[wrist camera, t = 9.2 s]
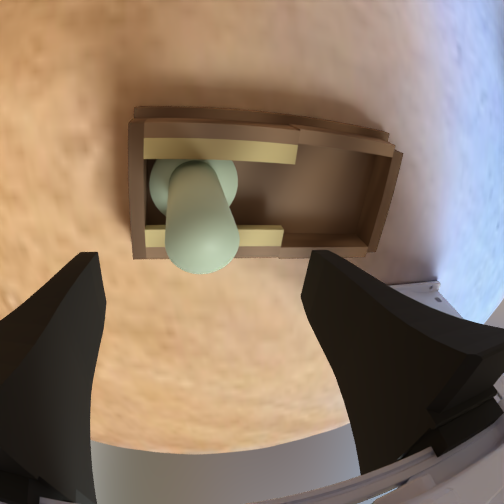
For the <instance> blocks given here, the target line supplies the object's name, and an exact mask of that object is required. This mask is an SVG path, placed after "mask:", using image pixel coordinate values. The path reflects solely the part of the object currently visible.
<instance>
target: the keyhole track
mask: <svg viewBox="0 0 504 504" xmlns="http://www.w3.org/2000/svg"><path fill="white" fill-rule="evenodd" d="M388 138H389V133H387V132H384V131H380V130H375V129H371V128H366V127H361V126H356V125H351V124H346V123H340V122H335V121H329V120H323V119H317V118H310V117H303V116H296V115H288V114H280V113H271V112H262V111H252V110H240V109H226V108H208V107H173V106H151V107H135V108H134V119H132V120H131V121H130V122H129V127H128V179H129V207H130V225H131V239H132V252H133V259H170V258H169V257H168V255H167V252H166V249H165V229H166V216H165V215H164V214H162V213H161V212H160V211H159V209H158V208H157V207H156V205H155V204H154V202H153V200H152V197H151V194H150V187H149V181H150V175H151V171H152V168H153V165H154V163H155V161H156V159H205V160H232V162H233V163H234V165H235V168H236V171H237V176H238V187H237V192H236V195H235V197H234V200H233V201H232V203H231V205H230V206H229V208H230V210H231V213H232V216H233V218H234V221H235V223H236V226H237V229H238V232H239V237H240V242H239V247H238V251H237V253H236V255H235V256H234V258H271V257H278V258H279V259H293V258H310V256H311V252H312V250H329V251H331V252H333V253H335V254H337V255H339V256H340V257H342V258H344V257H365V256H366V252H376V249H377V246H378V243H379V240H380V237H381V234H382V230H383V227H384V224H385V221H386V217H387V214H388V210H389V207H390V203H391V200H392V196H393V192H394V189H395V185H396V181H397V177H398V173H399V169H400V165H401V161H402V157H403V153H401V152H399V151H397V150H395V145H393V144H391V143H388Z"/></svg>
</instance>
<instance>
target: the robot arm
mask: <svg viewBox="0 0 504 504" xmlns="http://www.w3.org/2000/svg"><path fill="white" fill-rule="evenodd" d="M440 285H441V283H440V282H439V281H432V282H422V283H412V284H401V285H389V286H388V285H386V284H384V283H383V282H381V281H379V280H378V279H376V278H374V277H373V276H371V275H370V274H368V273H366V272H365V271H363V270H362V269H360V268H358V267H357V266H355V265H354V264H352V263H350V262H349V261H347V260H346V259H344V258H342V257H340V256H339V255H337V254H335V253H333V252H331V251H329V250H312V252H311V256H310V260H309V264H308V268H307V273H306V277H305V281H304V285H303V289H302V293H301V300H302V303H303V306H304V309H305V312H306V315H307V318H308V321H309V323H310V325H311V327H312V329H313V331H314V333H315V335H316V337H317V339H318V341H319V343H320V345H321V347H322V349H323V351H324V353H325V355H326V357H327V359H328V361H329V363H330V366H331V368H332V370H333V372H334V374H335V377H336V379H337V382H338V385H339V388H340V391H341V394H342V397H343V400H344V403H345V407H346V410H347V413H348V417H349V420H350V424H351V428H352V432H353V436H354V440H355V444H356V450H357V455H358V460H359V466H360V473H361V476H358V477H355V478H352V479H349V480H346V481H343V482H340V483H336V484H333V485H330V486H326V487H323V488H319V489H315V490H311V491H307V492H303V493H299V494H295V495H290V496H286V497H282V498H276V499H270V500H266V501H259V502H253V503H246V504H357V503H360V502H363V501H365V500H368V499H370V498H373V497H375V496H378V495H380V494H383V493H385V492H387V491H390V490H392V489H394V488H397V487H398V488H397V489H396V490H394V491H392V492H390V493H388V494H386V495H384V496H382V497H380V498H378V499H376V500H375V501H374V502H373V503H372V504H504V376H503V373H504V329H503V328H498V327H493V326H488V325H483V324H479V323H475V322H472V321H468V320H465V319H463V318H462V317H461V315H460V314H459V313H458V312H457V311H456V310H455V309H454V308H453V307H452V306H451V304H450V303H449V302H448V301H447V300H446V299H445V298H444V297H443V296H442V295H441V294H440V293H439V292H438V290H439V288H440ZM105 311H106V297H105V292H104V286H103V281H102V275H101V269H100V263H99V256H98V252H80V253H79V254H78V255H76V256H75V257H74V258H73V259H72V260H71V261H70V262H68V263H67V264H66V265H65V266H64V267H63V268H62V269H61V270H60V271H59V272H58V273H57V274H55V275H54V276H53V277H52V278H51V279H50V280H49V281H48V282H47V283H46V284H45V285H43V286H42V287H41V288H40V289H39V290H38V291H37V292H35V293H34V294H33V295H32V296H31V297H30V298H29V299H27V300H26V301H25V302H24V303H23V304H21V305H20V306H19V307H18V308H16V309H15V310H14V311H13V312H11V313H10V314H9V315H7V316H6V317H5V318H3V319H2V320H0V504H97V501H96V495H95V489H94V481H93V473H92V461H91V446H90V406H91V390H92V383H93V377H94V372H95V367H96V362H97V357H98V352H99V347H100V343H101V338H102V334H103V329H104V321H105Z"/></svg>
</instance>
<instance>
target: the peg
mask: <svg viewBox="0 0 504 504" xmlns="http://www.w3.org/2000/svg"><path fill="white" fill-rule="evenodd" d="M149 187H150V194H151V197H152V200H153V202H154V204H155V205H156V207H157V208H158V209H159V211H160V212H161V213H162V214H164V215H165V216H166V229H165V249H166V252H167V255H168V257H169V258H170V260H171V261H172V262H173V263H174V264H175V265H176V266H177V267H178V268H180V269H182V270H184V271H186V272H189V273H193V274H208V273H212V272H215V271H218V270H220V269H222V268H223V267H225V266H226V265H227V264H228V263H229V262H231V260H232V259H233V258H234V256H235V255H236V253H237V251H238V247H239V242H240V237H239V232H238V229H237V226H236V223H235V221H234V218H233V216H232V213H231V210H230V208H229V206H230V205H231V203H232V201H233V200H234V197H235V195H236V192H237V187H238V176H237V171H236V168H235V165H234V163H233V162H232V160H205V159H156V161H155V163H154V165H153V168H152V171H151V175H150V181H149Z"/></svg>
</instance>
